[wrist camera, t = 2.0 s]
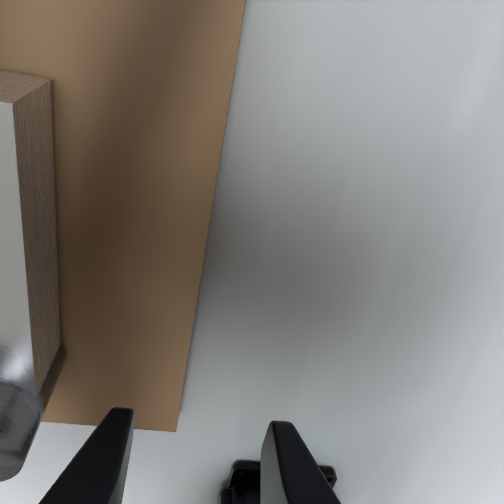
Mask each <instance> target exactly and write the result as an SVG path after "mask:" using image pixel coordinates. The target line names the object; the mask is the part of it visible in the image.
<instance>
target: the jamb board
mask: <svg viewBox="0 0 504 504" xmlns="http://www.w3.org/2000/svg"><path fill="white" fill-rule="evenodd" d="M245 3H246V0H0V70H2V71H7V72H13V73H18V74H24V75H29V76H35V77H40V78H46V79H51V106H52V133H53V160H54V187H55V213H56V240H57V267H58V294H59V321H60V344H61V346H62V347H63V349H64V352H65V363H64V366H63V368H62V371H61V373H60V376H59V378H58V381H57V383H56V386H55V388H54V391H53V393H52V395H51V398H50V400H49V403H48V405H47V408H46V410H45V413H44V415H43V418H42V420H41V421H42V422H55V423H68V424H80V425H93V426H98V425H99V424H100V422H101V421H102V420H103V418H104V417H105V416H106V415H107V413H108V412H109V411H110V410H111V409H112V408H114V407H122V408H131V409H133V410H134V411H135V416H134V428H133V429H144V430H157V431H170V432H176V428H177V422H178V416H179V410H180V403H181V397H182V391H183V385H184V379H185V373H186V366H187V360H188V354H189V348H190V342H191V336H192V329H193V323H194V317H195V311H196V305H197V299H198V292H199V286H200V280H201V274H202V268H203V262H204V255H205V249H206V243H207V237H208V231H209V225H210V218H211V212H212V206H213V200H214V194H215V188H216V182H217V175H218V169H219V163H220V157H221V151H222V145H223V138H224V132H225V126H226V120H227V114H228V108H229V101H230V95H231V89H232V83H233V77H234V71H235V64H236V58H237V52H238V46H239V40H240V34H241V27H242V21H243V15H244V9H245Z"/></svg>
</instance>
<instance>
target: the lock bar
mask: <svg viewBox="0 0 504 504" xmlns="http://www.w3.org/2000/svg"><path fill="white" fill-rule="evenodd" d="M64 363H65V352H64V349H63V347H62V346H61V344H60V321H59V294H58V267H57V240H56V213H55V187H54V160H53V133H52V106H51V79H46V78H40V77H35V76H29V75H24V74H18V73H13V72H7V71H2V70H0V482H1V481H5V480H8V479H10V478H12V477H14V476H15V475H17V474H18V473H19V472H20V470H21V469H22V467H23V464H24V462H25V459H26V457H27V454H28V452H29V449H30V447H31V445H32V442H33V440H34V437H35V435H36V432H37V430H38V427H39V425H40V422H41V420H42V418H43V415H44V413H45V410H46V408H47V405H48V403H49V400H50V398H51V395H52V393H53V391H54V388H55V386H56V383H57V381H58V378H59V376H60V373H61V371H62V368H63V366H64Z"/></svg>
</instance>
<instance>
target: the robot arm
mask: <svg viewBox="0 0 504 504" xmlns="http://www.w3.org/2000/svg"><path fill="white" fill-rule="evenodd" d="M134 416H135V411H134V410H133V409H131V408H122V407H114V408H112V409H111V410H110V411H109V412H108V413H107V415H106V416H105V417H104V418H103V420H102V421H101V422H100V424H99V425H98V426H97V428H96V429H95V430H94V432H93V433H92V434H91V436H90V437H89V438H88V439H87V441H86V442H85V443H84V445H83V446H82V447H81V449H80V450H79V451H78V453H77V454H76V455H75V457H74V458H73V459H72V461H71V462H70V463H69V464H68V466H67V467H66V468H65V470H64V471H63V472H62V474H61V475H60V476H59V478H58V479H57V480H56V482H55V483H54V484H53V485H52V487H51V488H50V489H49V491H48V492H47V493H46V495H45V496H44V497H43V499H42V500H41V501H40V503H39V504H121V503H122V497H123V492H124V486H125V480H126V475H127V469H128V463H129V457H130V452H131V446H132V439H133V428H134ZM336 480H337V477H336V472H335V471H334V470H333V469H324V468H319V466H318V465H317V463H316V461H315V460H314V458H313V456H312V455H311V453H310V451H309V450H308V448H307V446H306V445H305V443H304V441H303V440H302V438H301V436H300V435H299V433H298V432H297V430H296V428H295V427H294V425H293V424H292V423H290V422H287V421H275V420H274V421H271V423H270V424H269V427H268V430H267V433H266V436H265V439H264V442H263V445H262V450H261V464H252V463H237V464H235V465H234V466H233V467H232V471H231V474H230V478H229V481H228V485H227V488H224V489H223V490H222V491H221V492H220V496H219V499H218V503H217V504H341V503H340V501H339V499H338V498H337V496H336V494H335V493H334V491H333V486H334V484H335V482H336Z"/></svg>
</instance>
